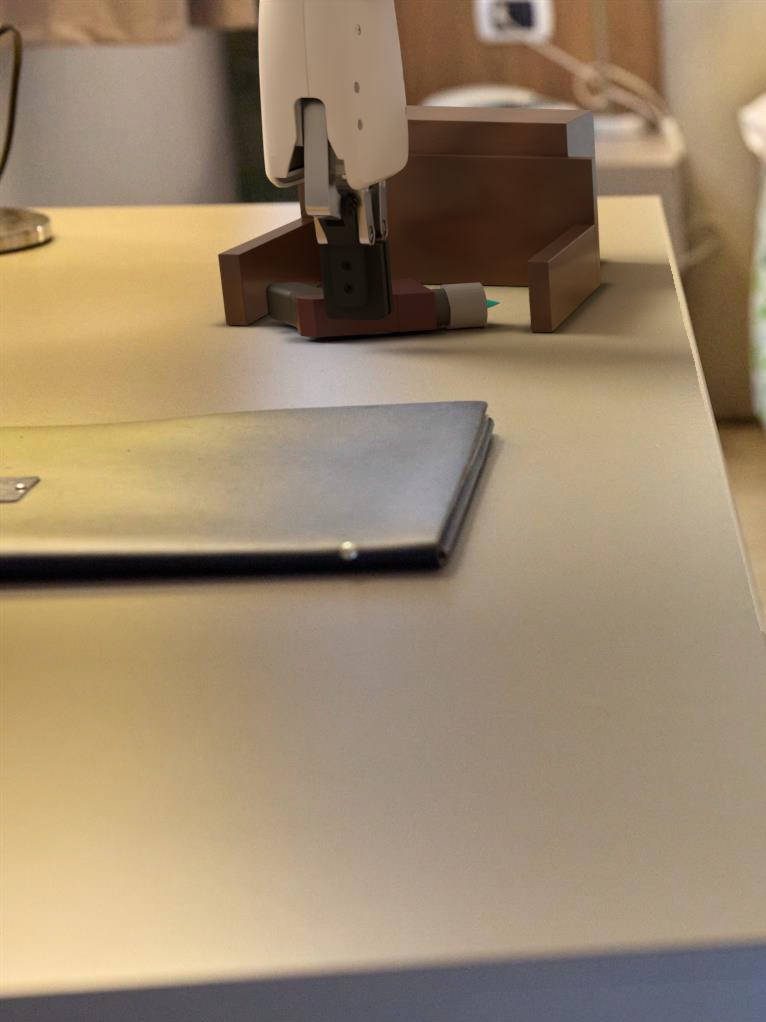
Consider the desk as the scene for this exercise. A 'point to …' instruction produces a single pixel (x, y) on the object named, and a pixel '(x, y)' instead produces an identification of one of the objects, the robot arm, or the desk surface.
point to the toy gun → (410, 314)
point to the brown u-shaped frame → (463, 214)
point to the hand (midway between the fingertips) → (360, 316)
